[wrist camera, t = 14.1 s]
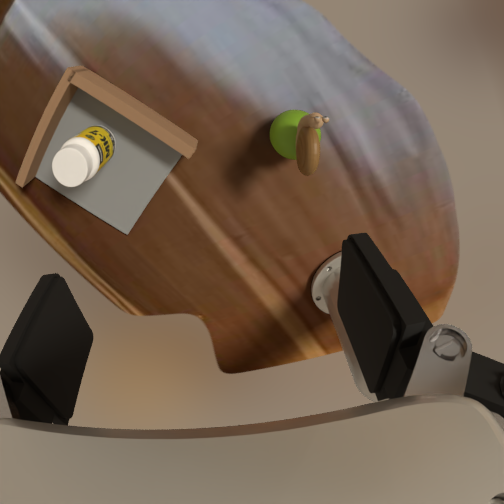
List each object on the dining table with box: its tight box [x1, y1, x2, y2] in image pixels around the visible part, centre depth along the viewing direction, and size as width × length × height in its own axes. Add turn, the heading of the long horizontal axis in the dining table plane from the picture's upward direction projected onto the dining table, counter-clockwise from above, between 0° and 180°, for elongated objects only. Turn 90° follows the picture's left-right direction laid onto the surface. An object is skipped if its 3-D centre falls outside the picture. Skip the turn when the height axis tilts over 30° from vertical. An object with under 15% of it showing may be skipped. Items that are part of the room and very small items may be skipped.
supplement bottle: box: [52, 125, 116, 187], centre depth 29 cm, size 5×5×8 cm
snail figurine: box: [270, 110, 329, 176], centre depth 30 cm, size 5×6×12 cm
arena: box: [16, 66, 198, 235], centre depth 32 cm, size 17×15×4 cm
